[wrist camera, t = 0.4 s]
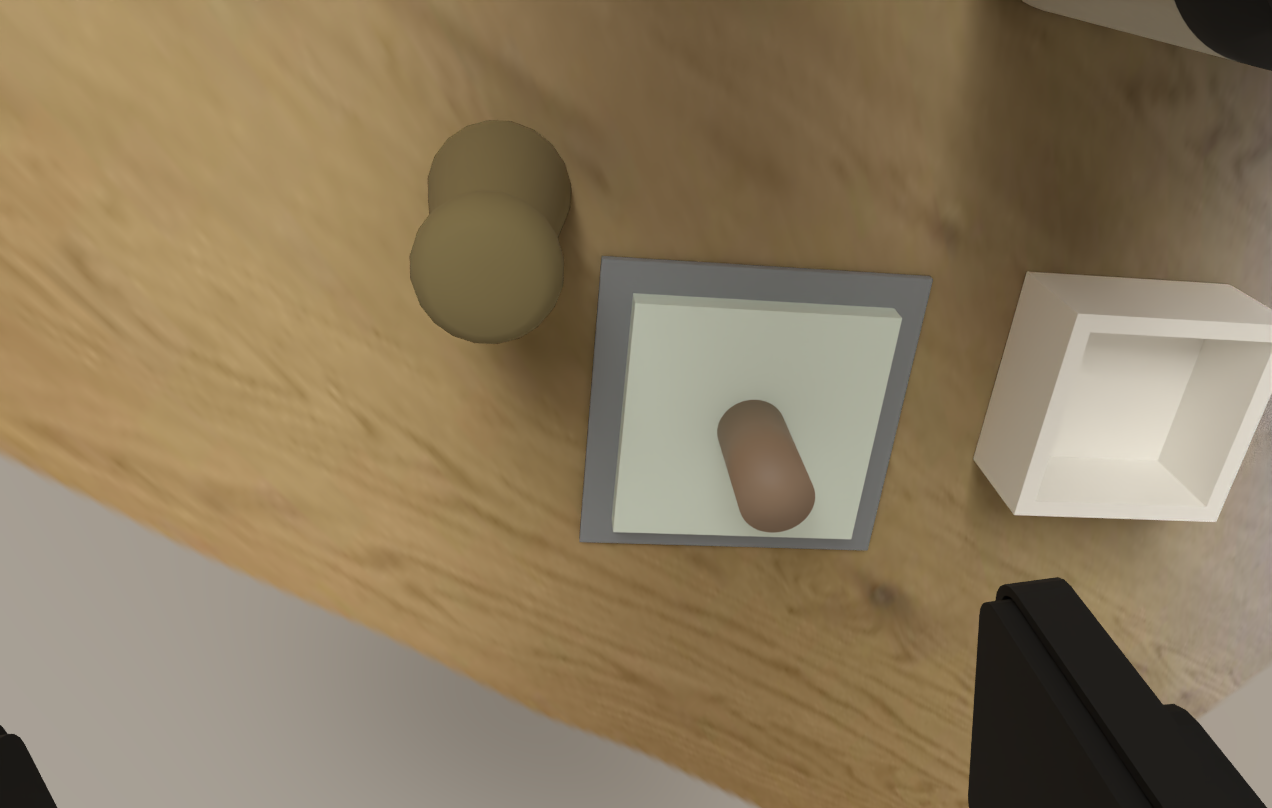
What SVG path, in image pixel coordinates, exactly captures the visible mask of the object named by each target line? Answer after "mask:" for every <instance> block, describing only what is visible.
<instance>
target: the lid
mask: <svg viewBox="0 0 1272 808" xmlns="http://www.w3.org/2000/svg"><path fill="white" fill-rule="evenodd" d="M901 322H902V317H901V316H900V315H899V314H898V313H897V311H896V310H895V309H894V308H882V307H865V306H847V305H830V304H813V303H795V302H778V301H761V300H743V299H726V298H708V297H691V296H674V295H656V294H639V293H633V300H632V311H631V321H630V332H629V342H628V352H627V363H626V373H625V384H624V394H623V405H622V415H621V426H620V436H619V447H618V457H617V467H616V478H615V488H614V499H613V509H612V527H613V532H627V533H659V534H692V535H724V536H757V537H789V538H822V539H851V538H852V534H853V529H854V525H855V521H856V516H857V512H858V508H859V503H860V499H861V495H862V490H863V486H864V482H865V477H866V473H867V469H868V464H869V460H870V456H871V451H872V447H873V443H874V438H875V434H876V430H877V425H878V421H879V417H880V412H881V408H882V404H883V400H884V395H885V391H886V387H887V382H888V378H889V374H890V369H891V365H892V361H893V356H894V352H895V348H896V343H897V339H898V335H899V330H900V326H901Z"/></svg>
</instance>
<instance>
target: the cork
mask: <svg viewBox="0 0 1272 808" xmlns="http://www.w3.org/2000/svg"><path fill="white" fill-rule="evenodd" d="M570 198H571V183H570V180H569V176H568V173H567V169H566V166H565V163H564V162H563V160H562V159H561V157H560V156H559V154H558V153H557V151H556V150H555V148H554V147H553V145H552V144H551V143H549V142H548V141H547V140H546V139H545V138H543V137H542V136H541V135H540V134H538V133H537V132H536V131H535V130H532V129H530V128H527V127H525V126H522V125H520V124H517V123H514V122H510V121H492V120H488V121H484V122H481V123H477V124H473V125H470V126H466V127H465V128H463V129H462V130H460V131H459V132H457V133H456V134H454V135H453V136H451V137H450V138H448V139H447V141H446V142H445V143H444V145H443V146H442V147H441V149H440V150H439V151H438V153H437V154H436V155H435V157H434V160H433V163H432V166H431V169H430V172H429V176H428V203H429V216H428V217H427V219H426V220H425V221H424V223H423V224H422V225H421V227H420V228H419V230H418V232H417V234H416V238H415V241H414V244H413V247H412V250H411V253H410V279H411V282H412V285H413V288H414V290H415V293H416V295H417V298H418V301H419V303H420V306H421V307H422V308H423V309H424V311H425V312H426V313H427V314H428V316H429V317H430V318H431V319H432V321H433V322H434V323H435V324H437V325H438V326H439V327H441V328H442V329H444V330H445V331H447V332H448V333H450V334H451V335H453V336H455V337H458V338H461V339H464V340H467V341H470V342H473V343H489V344H499V343H503V342H506V341H510V340H514V339H518V338H520V337H522V336H524V335H525V334H527V333H528V332H530V331H532V330H533V329H535V328H537V327H538V326H539V325H540V323H541V322H542V321H543V320H544V319H545V318H546V316H547V315H548V314H549V313H550V312H551V311H552V309H553V308H554V307H555V305H556V302H557V300H558V297H559V294H560V292H561V289H562V287H563V276H564V257H563V253H562V250H561V247H560V243H559V240H558V237H559V234H560V232H561V229H562V227H563V224H564V222H565V219H566V217H567V214H568V211H569V209H570Z"/></svg>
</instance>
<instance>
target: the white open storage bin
mask: <svg viewBox="0 0 1272 808" xmlns="http://www.w3.org/2000/svg"><path fill="white" fill-rule="evenodd" d="M1271 393H1272V309H1270V308H1268V307H1267V306H1265V305H1263V304H1262V303H1260V302H1258V301H1257V300H1255V299H1253V298H1252V297H1250V296H1248V295H1247V294H1245V293H1243V292H1241V291H1240V290H1238V289H1236V288H1235V287H1233V286H1231V285H1230V284H1217V283H1201V282H1185V281H1169V280H1153V279H1137V278H1121V277H1105V276H1089V275H1073V274H1058V273H1042V272H1027V273H1026V276H1025V280H1024V283H1023V287H1022V290H1021V294H1020V297H1019V301H1018V304H1017V308H1016V311H1015V315H1014V318H1013V322H1012V325H1011V329H1010V332H1009V336H1008V339H1007V343H1006V346H1005V350H1004V353H1003V357H1002V360H1001V364H1000V367H999V371H998V374H997V378H996V381H995V385H994V388H993V392H992V395H991V398H990V402H989V405H988V409H987V412H986V416H985V419H984V423H983V426H982V430H981V433H980V437H979V440H978V444H977V447H976V451H975V454H974V458H973V460H974V461H975V462H976V464H977V465H978V466H979V468H980V469H981V471H982V472H983V473H984V475H985V476H986V477H987V479H988V480H989V482H990V483H991V484H992V486H993V487H994V488H995V490H996V491H997V492H998V494H999V495H1000V497H1001V498H1002V499H1003V501H1004V502H1005V503H1006V505H1007V506H1008V507H1009V509H1010V510H1011V512H1012V513H1013V514H1014V515H1028V516H1057V517H1086V518H1115V519H1145V520H1174V521H1203V522H1216V521H1217V519H1218V516H1219V514H1220V512H1221V509H1222V507H1223V505H1224V502H1225V500H1226V498H1227V495H1228V493H1229V491H1230V488H1231V486H1232V484H1233V481H1234V479H1235V477H1236V475H1237V472H1238V470H1239V468H1240V465H1241V463H1242V461H1243V458H1244V456H1245V454H1246V451H1247V449H1248V447H1249V444H1250V442H1251V440H1252V437H1253V435H1254V433H1255V430H1256V428H1257V426H1258V423H1259V421H1260V419H1261V417H1262V414H1263V412H1264V410H1265V407H1266V405H1267V403H1268V400H1269V398H1270V396H1271Z"/></svg>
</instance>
